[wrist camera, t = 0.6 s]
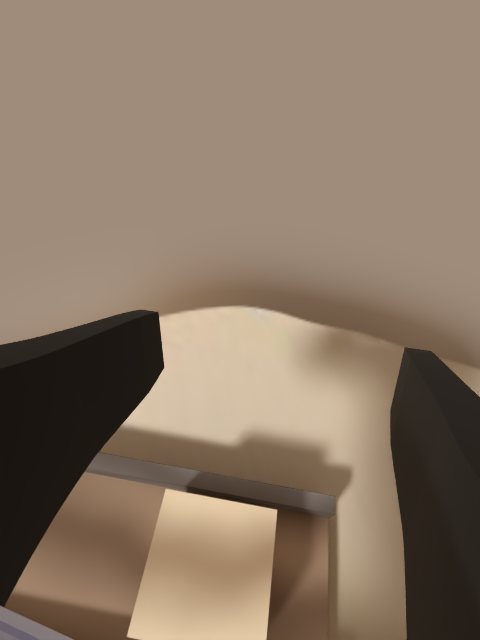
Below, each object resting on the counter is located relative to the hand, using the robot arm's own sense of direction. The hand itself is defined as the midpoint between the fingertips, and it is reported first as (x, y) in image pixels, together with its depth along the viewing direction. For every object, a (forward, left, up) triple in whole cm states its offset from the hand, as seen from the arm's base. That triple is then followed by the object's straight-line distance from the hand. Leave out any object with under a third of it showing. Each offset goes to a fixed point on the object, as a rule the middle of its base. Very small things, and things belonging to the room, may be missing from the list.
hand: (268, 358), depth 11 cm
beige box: (-5, +1, -16) cm, 17 cm away
